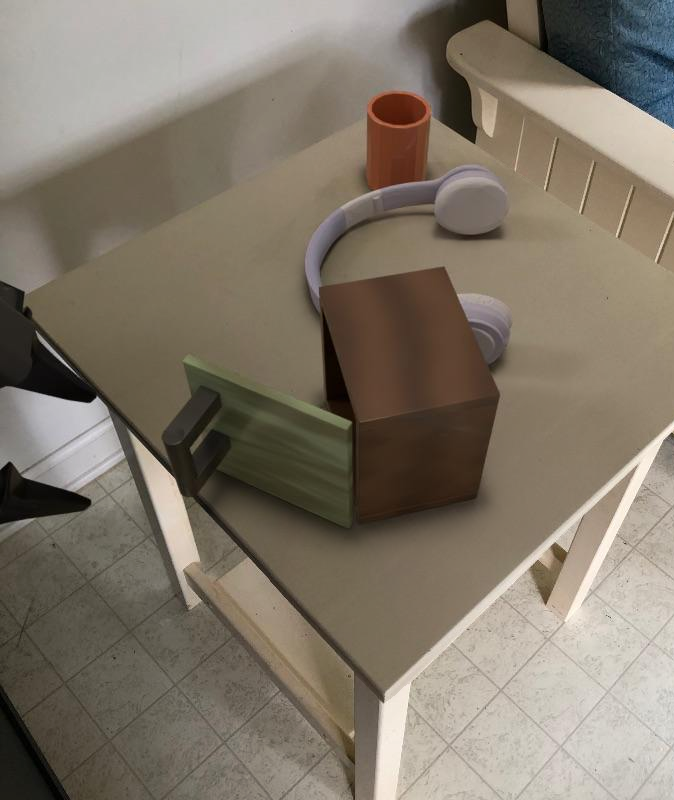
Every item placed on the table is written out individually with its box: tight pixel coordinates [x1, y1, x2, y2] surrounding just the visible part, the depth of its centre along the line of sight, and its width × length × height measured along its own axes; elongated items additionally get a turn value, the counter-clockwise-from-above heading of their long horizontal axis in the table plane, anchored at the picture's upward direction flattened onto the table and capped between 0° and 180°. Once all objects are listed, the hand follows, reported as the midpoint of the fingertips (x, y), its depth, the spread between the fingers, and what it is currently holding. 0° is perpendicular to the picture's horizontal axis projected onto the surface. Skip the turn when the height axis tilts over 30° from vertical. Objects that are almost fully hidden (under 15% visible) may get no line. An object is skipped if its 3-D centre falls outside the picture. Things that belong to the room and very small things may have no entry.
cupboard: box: [319, 266, 501, 525], centre depth 65 cm, size 10×13×14 cm
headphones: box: [304, 164, 513, 366], centre depth 80 cm, size 22×7×20 cm
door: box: [161, 353, 354, 529], centre depth 60 cm, size 6×13×14 cm, turn 65°
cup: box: [365, 90, 432, 192], centre depth 89 cm, size 7×7×9 cm
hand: (91, 449), depth 58 cm, fingers open, 9 cm apart
